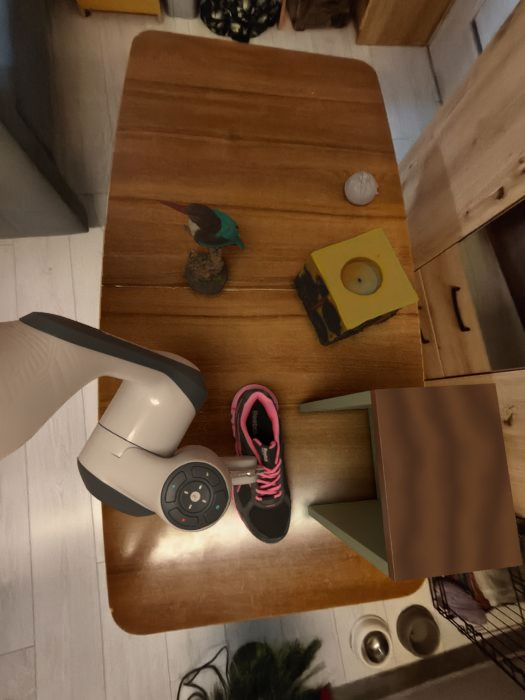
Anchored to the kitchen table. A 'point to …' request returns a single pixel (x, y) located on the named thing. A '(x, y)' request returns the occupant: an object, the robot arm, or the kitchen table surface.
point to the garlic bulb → (360, 188)
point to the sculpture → (207, 245)
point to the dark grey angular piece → (360, 516)
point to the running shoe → (261, 464)
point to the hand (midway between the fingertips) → (192, 468)
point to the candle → (353, 286)
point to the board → (443, 481)
